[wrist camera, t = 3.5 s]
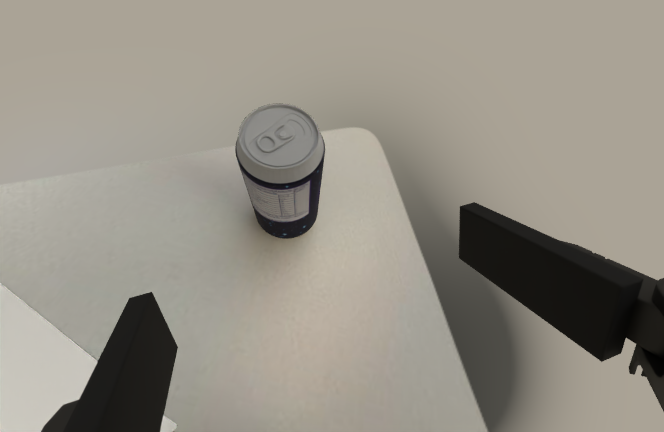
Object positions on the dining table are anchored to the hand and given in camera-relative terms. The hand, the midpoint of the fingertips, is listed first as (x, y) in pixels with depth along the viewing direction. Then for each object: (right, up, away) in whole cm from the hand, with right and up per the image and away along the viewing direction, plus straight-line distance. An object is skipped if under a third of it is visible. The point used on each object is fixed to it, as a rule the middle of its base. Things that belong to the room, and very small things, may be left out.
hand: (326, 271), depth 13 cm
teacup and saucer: (-25, -15, +7) cm, 30 cm away
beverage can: (-4, +3, +17) cm, 18 cm away
